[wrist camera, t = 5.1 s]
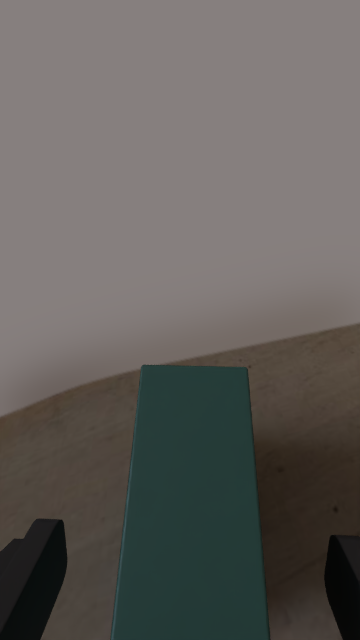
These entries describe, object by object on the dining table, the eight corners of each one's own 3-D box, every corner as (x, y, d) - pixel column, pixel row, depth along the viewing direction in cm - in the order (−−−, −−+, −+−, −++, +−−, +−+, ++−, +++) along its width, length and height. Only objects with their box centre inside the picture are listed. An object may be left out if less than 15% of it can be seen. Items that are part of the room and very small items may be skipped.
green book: (154, 632, 13) (83, 872, 4) (166, 435, 17) (141, 363, 9) (225, 636, 13) (293, 895, 4) (219, 436, 17) (248, 366, 8)
